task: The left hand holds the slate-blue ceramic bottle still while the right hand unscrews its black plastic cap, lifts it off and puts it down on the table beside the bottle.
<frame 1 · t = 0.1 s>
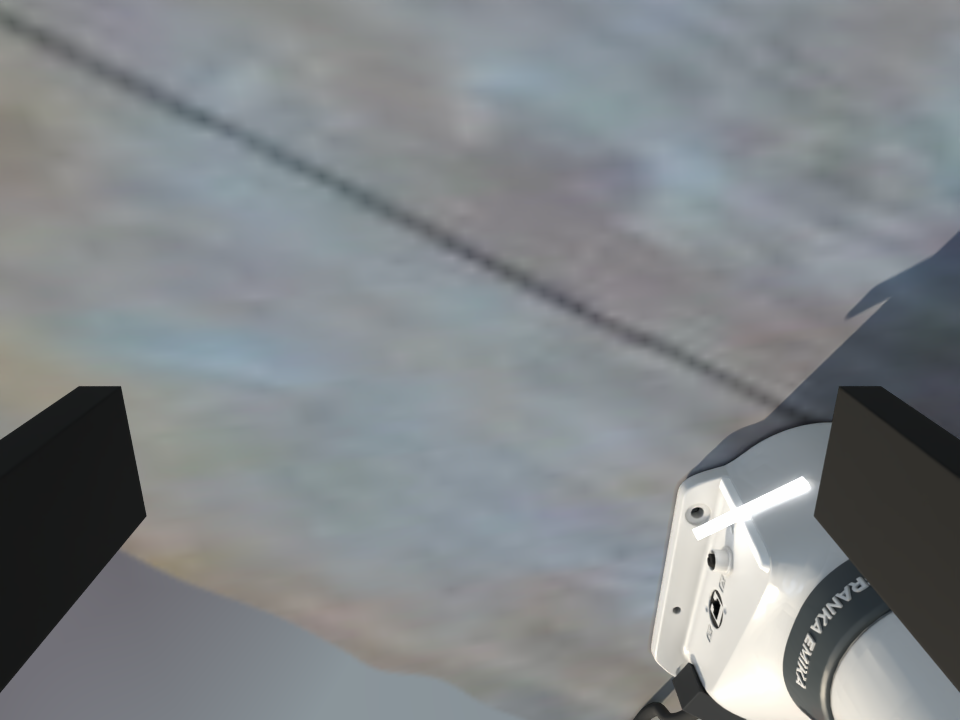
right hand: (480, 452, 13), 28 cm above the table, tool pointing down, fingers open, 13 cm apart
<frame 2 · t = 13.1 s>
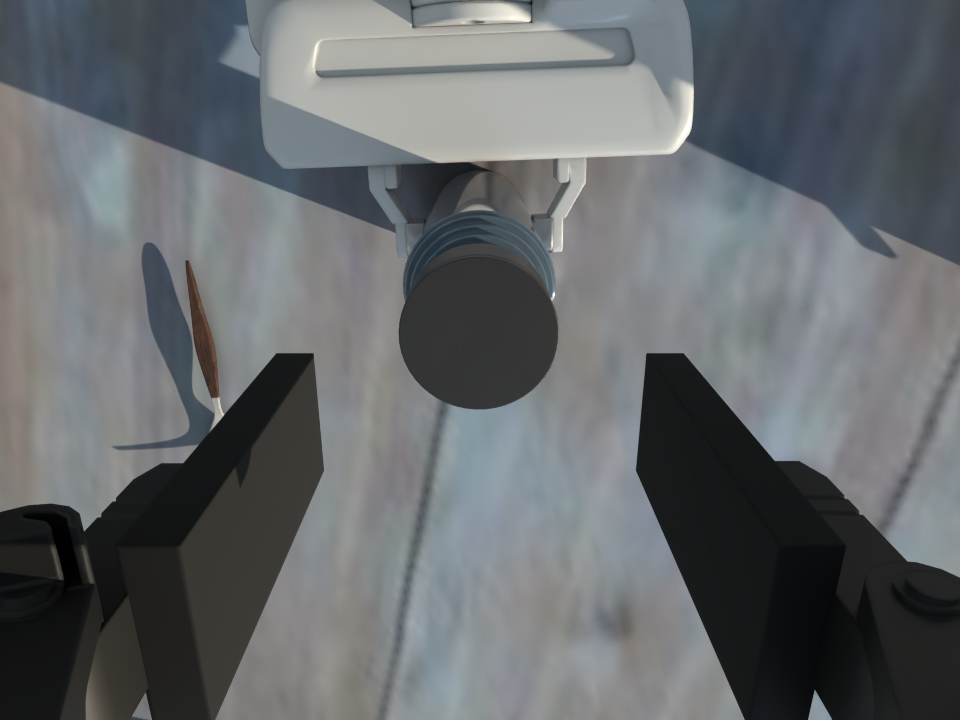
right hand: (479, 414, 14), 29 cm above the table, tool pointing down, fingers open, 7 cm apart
left hand: (481, 253, 35), fingers closed on bottle, 5 cm apart
fork: (215, 377, 45), on the table
cap: (478, 333, 19), point 23 cm above the table, screwed on, not yet turned
bottle: (479, 217, 41), on the table, touching left hand
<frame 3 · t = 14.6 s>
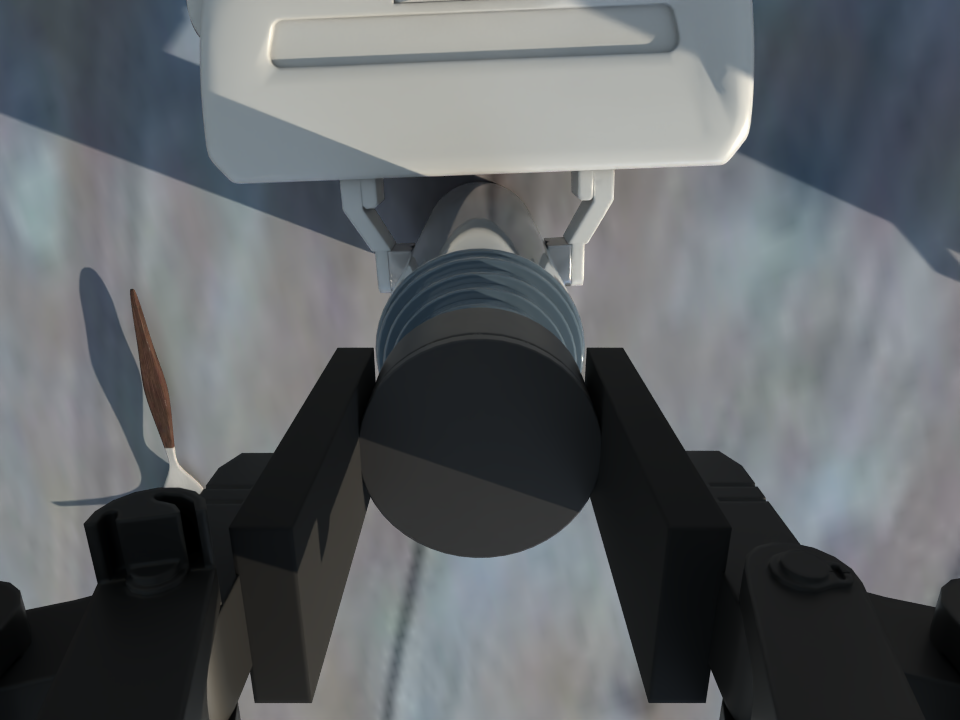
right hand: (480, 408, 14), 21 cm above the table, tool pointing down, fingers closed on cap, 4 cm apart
left hand: (482, 286, 28), fingers closed on bottle, 5 cm apart
fork: (170, 423, 38), on the table
cap: (480, 448, 13), point 23 cm above the table, screwed on, not yet turned, touching right hand
bottle: (480, 237, 34), on the table, touching left hand
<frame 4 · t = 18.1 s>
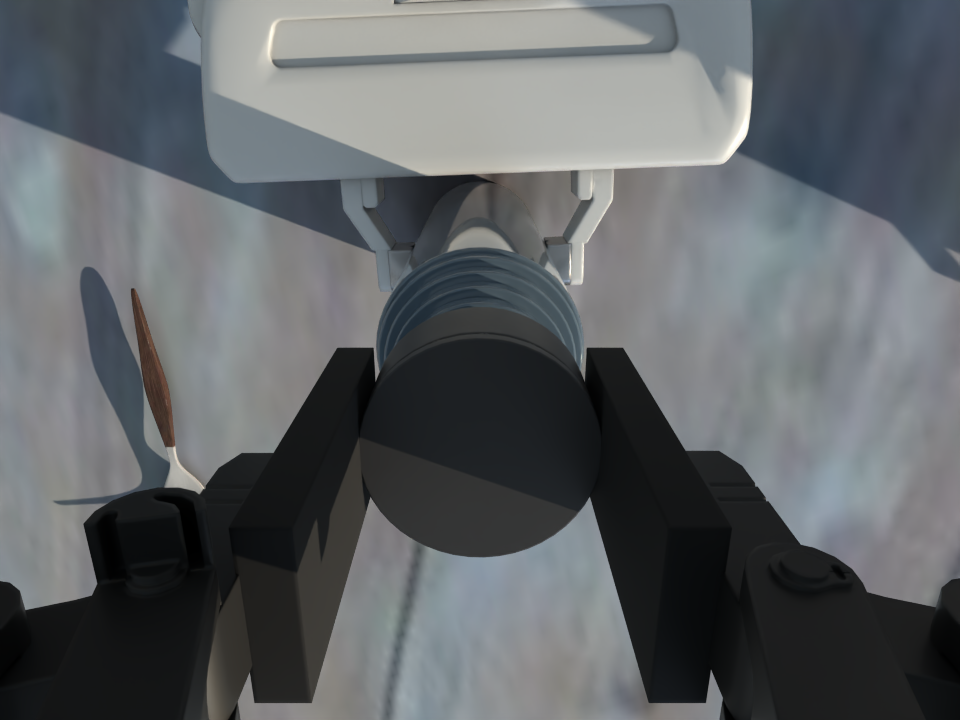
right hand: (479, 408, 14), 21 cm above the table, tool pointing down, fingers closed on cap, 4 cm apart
left hand: (482, 285, 28), fingers closed on bottle, 5 cm apart
fork: (171, 422, 38), on the table
cap: (480, 447, 13), point 23 cm above the table, turned 110° so far, risen 0.1 cm, still on its thread, touching right hand
bottle: (480, 236, 35), on the table, touching left hand
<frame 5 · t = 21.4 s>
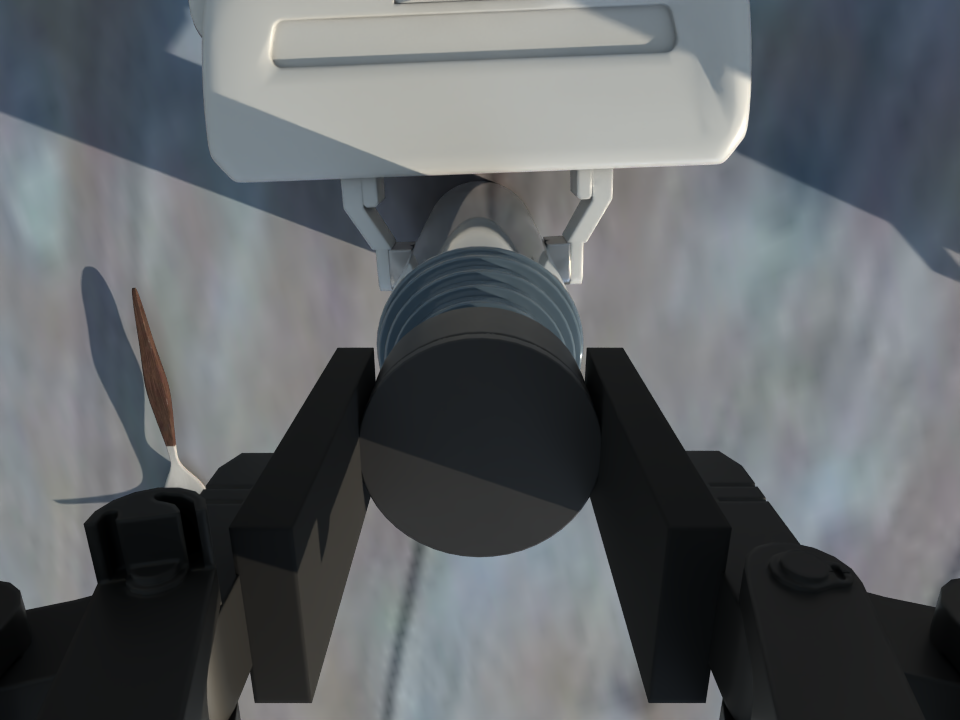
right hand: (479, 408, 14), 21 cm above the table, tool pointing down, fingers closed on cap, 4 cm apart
left hand: (481, 284, 29), fingers closed on bottle, 5 cm apart
fork: (172, 421, 38), on the table
cap: (480, 447, 13), point 23 cm above the table, turned 219° so far, risen 0.2 cm, still on its thread, touching right hand
bottle: (480, 236, 35), on the table, touching left hand
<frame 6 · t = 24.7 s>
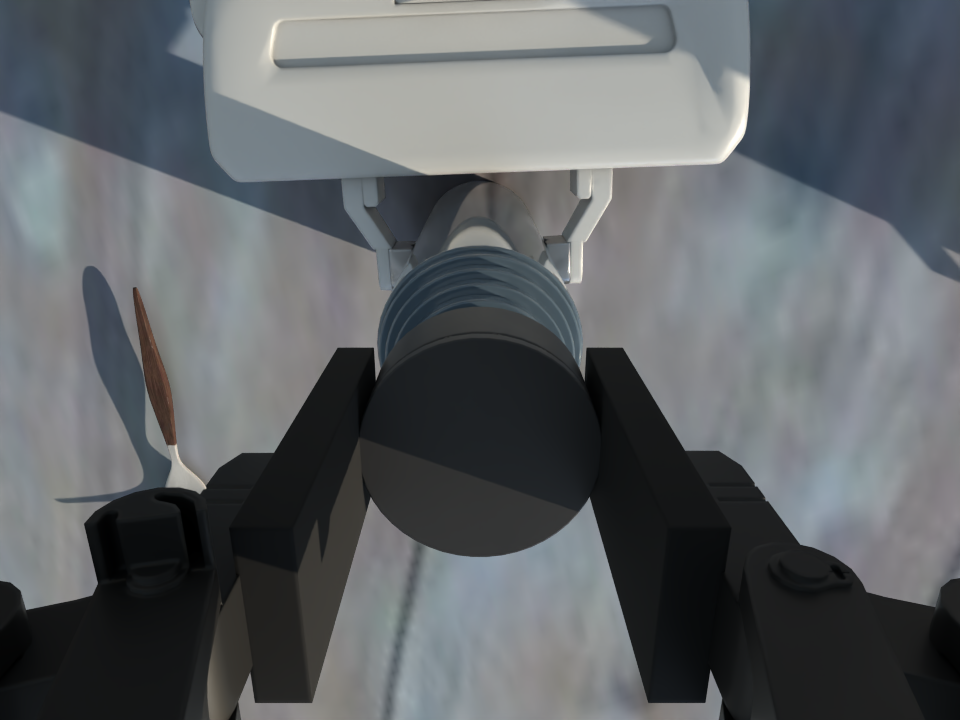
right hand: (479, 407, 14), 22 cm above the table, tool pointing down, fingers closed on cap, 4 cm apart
left hand: (481, 284, 29), fingers closed on bottle, 5 cm apart
fork: (172, 421, 38), on the table
cap: (480, 447, 13), point 23 cm above the table, turned 329° so far, risen 0.3 cm, still on its thread, touching right hand
bottle: (479, 235, 35), on the table, touching left hand
when the right hand's fingers open (1 cm above the table, at t = 31.4 s): cap stays where it is, point 2 cm above the table.
when the left hand's fingers open (7 cm above the table, at t = 32.8 s): bottle stays where it is, on the table.
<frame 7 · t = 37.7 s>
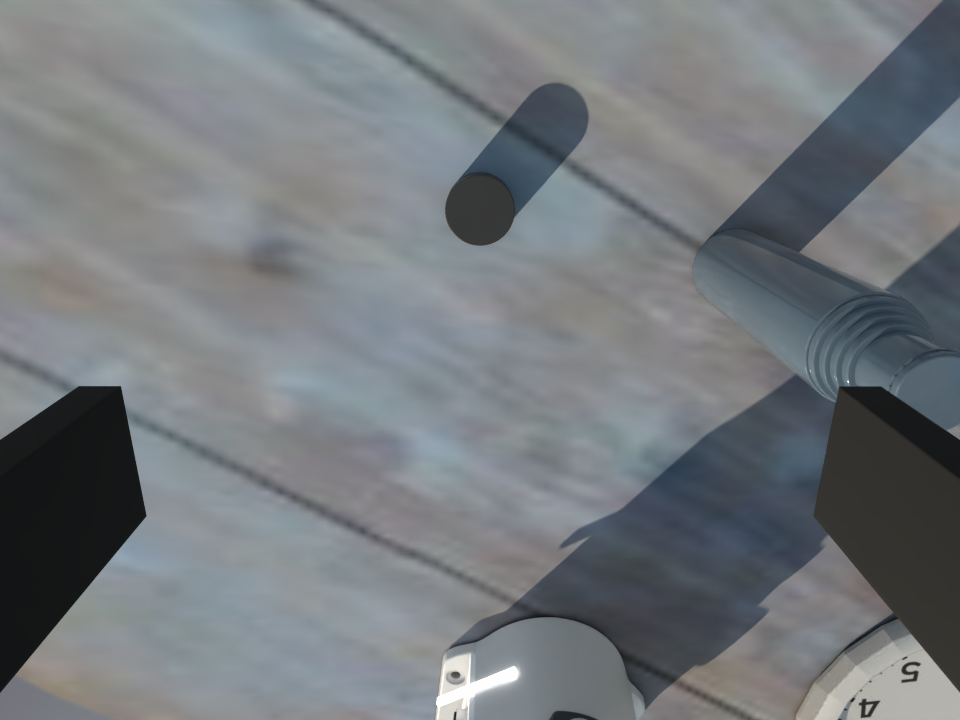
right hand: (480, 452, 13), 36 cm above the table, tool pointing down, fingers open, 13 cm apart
cap: (479, 210, 45), point 2 cm above the table, off its thread
bottle: (731, 268, 48), on the table
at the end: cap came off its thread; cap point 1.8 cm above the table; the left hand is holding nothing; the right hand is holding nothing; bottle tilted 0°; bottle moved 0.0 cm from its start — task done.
